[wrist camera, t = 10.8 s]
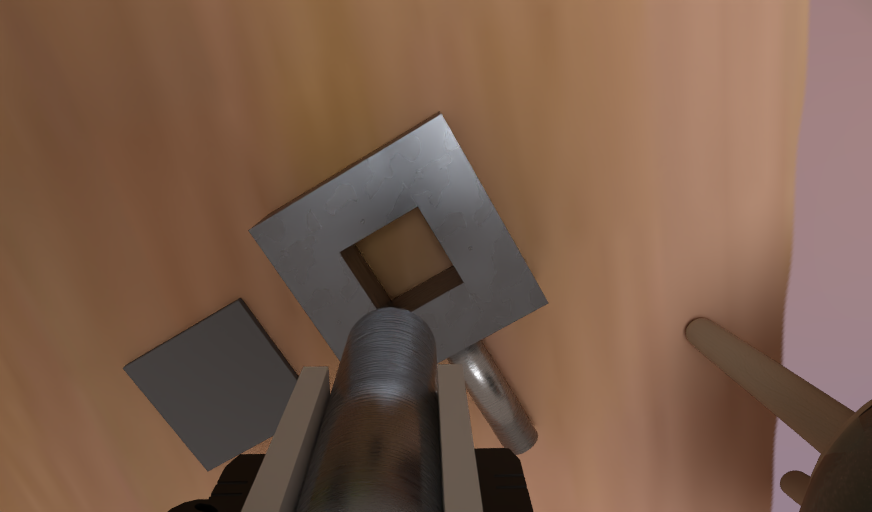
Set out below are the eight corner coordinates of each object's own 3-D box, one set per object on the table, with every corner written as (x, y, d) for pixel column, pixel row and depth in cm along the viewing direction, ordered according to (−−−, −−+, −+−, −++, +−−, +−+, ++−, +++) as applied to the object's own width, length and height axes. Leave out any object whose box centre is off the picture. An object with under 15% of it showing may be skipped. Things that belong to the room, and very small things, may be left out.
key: (350, 425, 23) (233, 964, 9) (341, 269, 21) (177, 632, 7) (436, 423, 23) (459, 956, 9) (435, 267, 21) (461, 625, 7)
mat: (126, 364, 37) (122, 368, 37) (240, 297, 36) (238, 300, 36) (210, 466, 40) (207, 471, 39) (320, 406, 38) (318, 410, 38)
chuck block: (267, 214, 35) (248, 230, 31) (439, 111, 33) (441, 114, 29) (442, 470, 40) (444, 510, 36) (597, 390, 39) (617, 423, 35)
